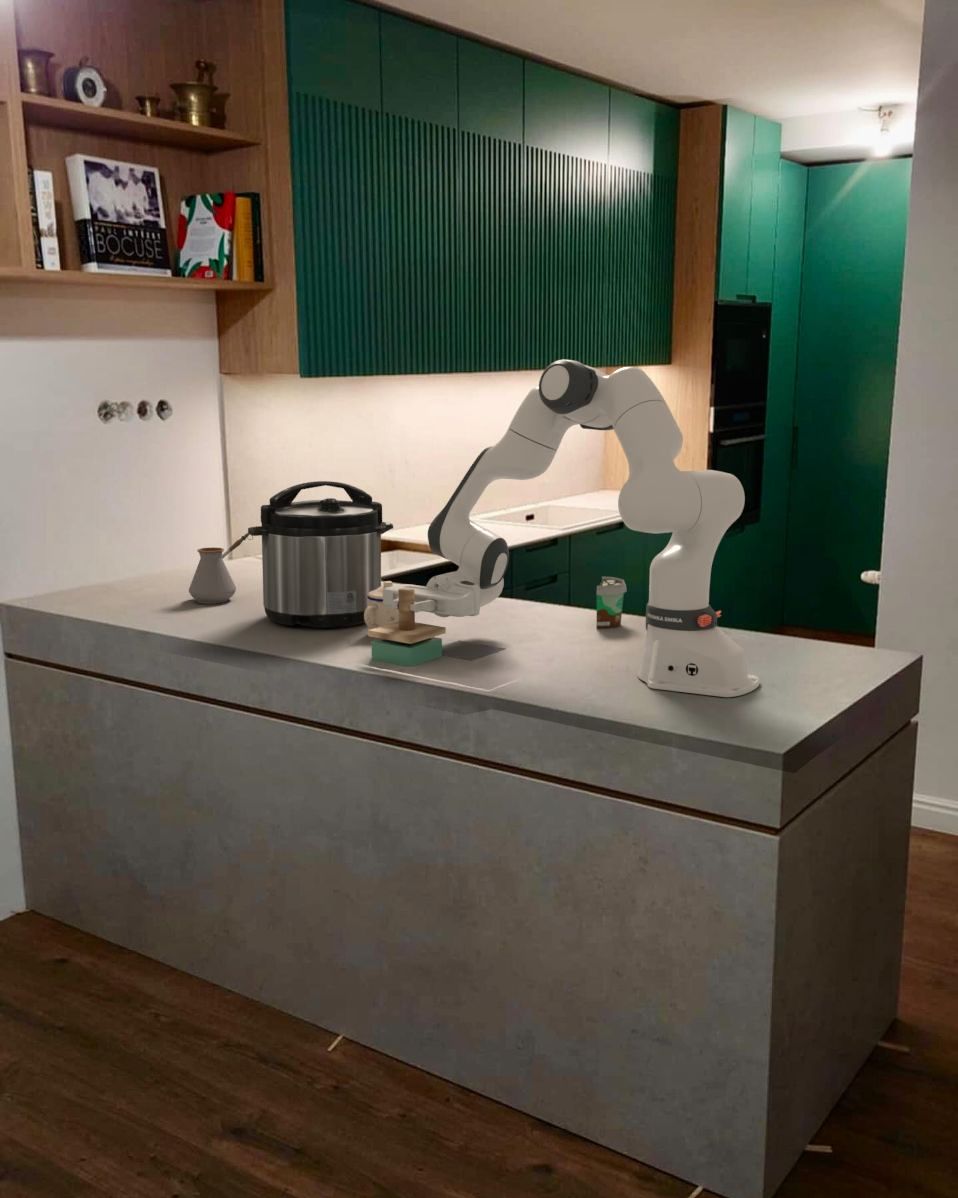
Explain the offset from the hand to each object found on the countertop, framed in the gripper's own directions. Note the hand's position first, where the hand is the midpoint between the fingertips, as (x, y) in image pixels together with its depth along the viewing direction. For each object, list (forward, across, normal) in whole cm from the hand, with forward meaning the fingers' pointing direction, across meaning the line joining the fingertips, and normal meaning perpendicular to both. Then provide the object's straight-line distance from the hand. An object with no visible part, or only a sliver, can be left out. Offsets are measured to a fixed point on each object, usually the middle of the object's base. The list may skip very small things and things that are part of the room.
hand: (403, 606), depth 235 cm
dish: (-1, 0, +11) cm, 11 cm away
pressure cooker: (-19, -40, +11) cm, 46 cm away
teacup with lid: (-14, -17, +11) cm, 25 cm away
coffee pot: (-22, -76, +11) cm, 80 cm away
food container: (-52, +18, +11) cm, 56 cm away
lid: (-1, 0, +6) cm, 6 cm away
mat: (-12, +6, +11) cm, 18 cm away
